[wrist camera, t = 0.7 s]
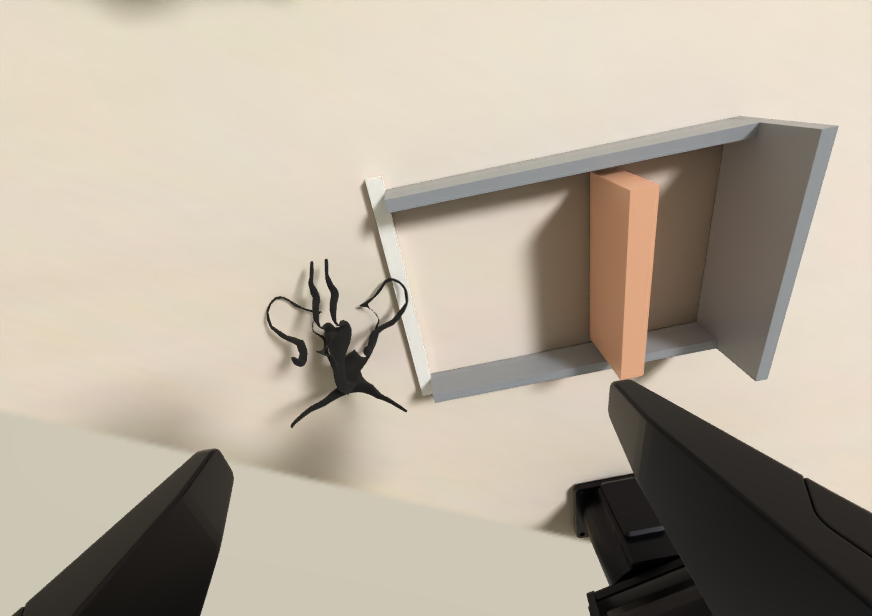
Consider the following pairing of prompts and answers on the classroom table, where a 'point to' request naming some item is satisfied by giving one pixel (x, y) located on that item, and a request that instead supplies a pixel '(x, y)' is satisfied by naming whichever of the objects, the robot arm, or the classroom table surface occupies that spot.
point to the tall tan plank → (621, 266)
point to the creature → (340, 346)
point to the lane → (725, 260)
